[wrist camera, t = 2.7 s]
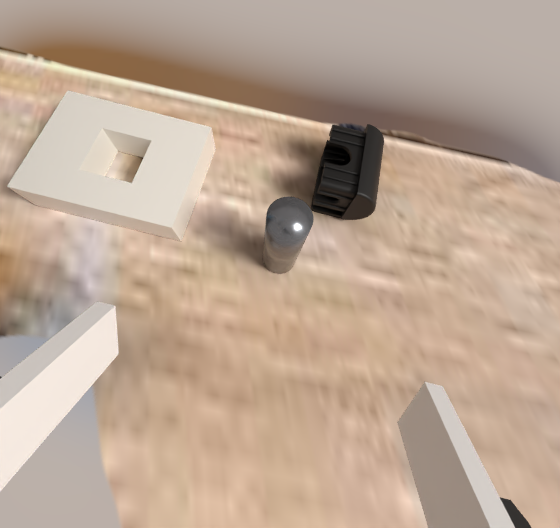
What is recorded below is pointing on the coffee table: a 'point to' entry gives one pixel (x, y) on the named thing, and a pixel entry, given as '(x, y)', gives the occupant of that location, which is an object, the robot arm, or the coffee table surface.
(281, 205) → the pin
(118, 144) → the socket block
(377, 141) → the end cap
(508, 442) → the coffee table surface
